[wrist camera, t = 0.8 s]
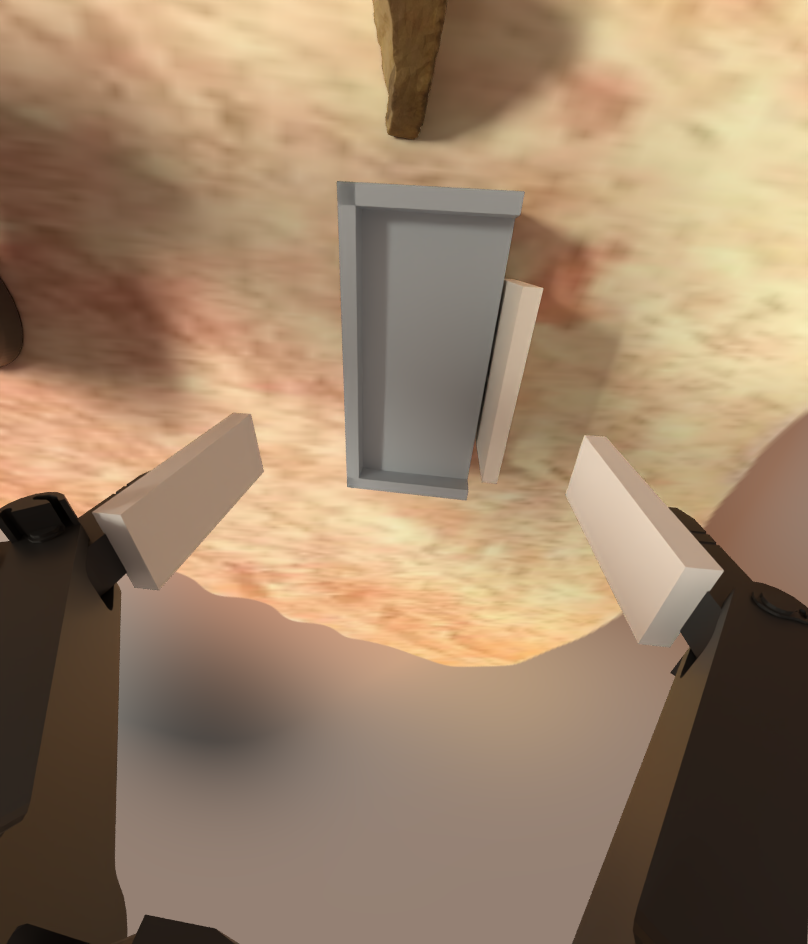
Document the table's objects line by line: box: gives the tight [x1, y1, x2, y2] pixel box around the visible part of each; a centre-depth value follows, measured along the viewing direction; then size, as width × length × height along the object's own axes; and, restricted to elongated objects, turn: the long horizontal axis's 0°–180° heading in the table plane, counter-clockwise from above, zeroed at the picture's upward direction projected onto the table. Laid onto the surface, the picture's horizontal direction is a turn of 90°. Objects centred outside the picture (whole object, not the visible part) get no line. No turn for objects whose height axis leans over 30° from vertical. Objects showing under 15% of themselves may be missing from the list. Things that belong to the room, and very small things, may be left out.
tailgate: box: [475, 278, 543, 484], centre depth 29 cm, size 1×14×11 cm, turn 176°
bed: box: [337, 181, 525, 500], centre depth 31 cm, size 12×24×7 cm, turn 177°
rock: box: [373, 0, 447, 139], centre depth 21 cm, size 11×9×10 cm
